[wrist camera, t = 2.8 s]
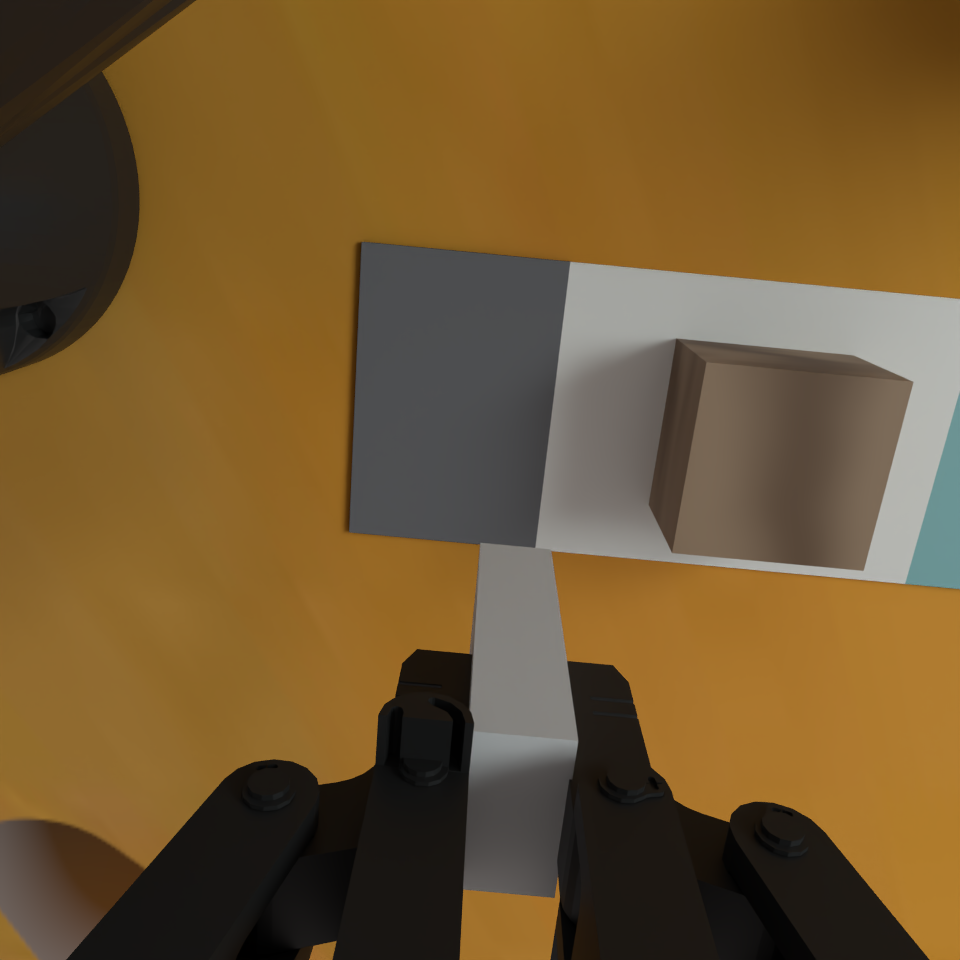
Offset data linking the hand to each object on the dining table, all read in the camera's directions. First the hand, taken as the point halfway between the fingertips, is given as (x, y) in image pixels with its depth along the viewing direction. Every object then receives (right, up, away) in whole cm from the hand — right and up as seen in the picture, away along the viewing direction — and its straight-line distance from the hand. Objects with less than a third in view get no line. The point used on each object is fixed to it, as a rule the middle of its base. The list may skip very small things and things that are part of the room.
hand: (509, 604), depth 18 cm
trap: (-2, +6, +16) cm, 17 cm away
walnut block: (+10, +5, +16) cm, 20 cm away
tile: (+10, +5, +16) cm, 20 cm away
